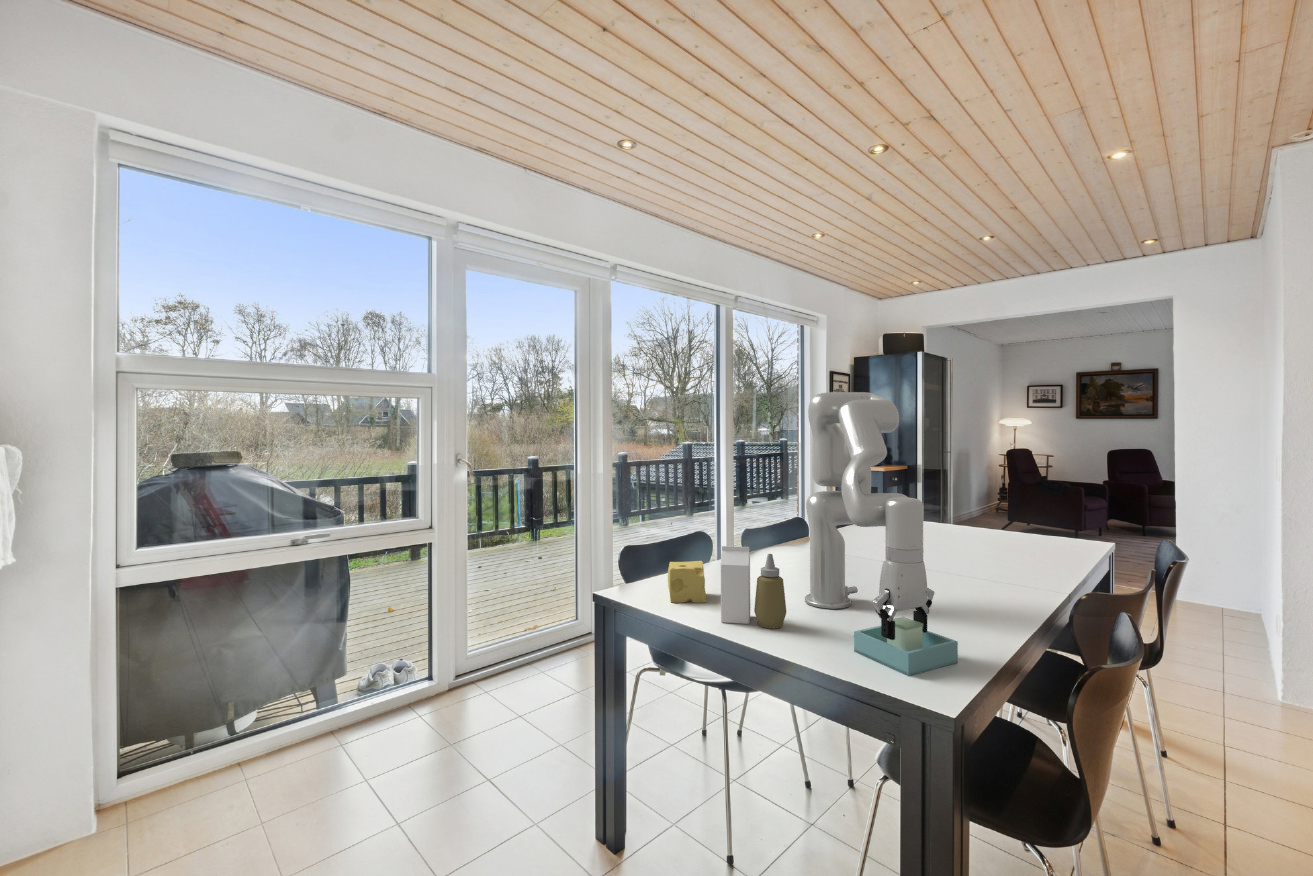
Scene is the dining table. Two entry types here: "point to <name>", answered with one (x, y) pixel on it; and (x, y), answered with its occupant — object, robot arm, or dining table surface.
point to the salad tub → (907, 634)
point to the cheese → (686, 582)
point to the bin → (929, 657)
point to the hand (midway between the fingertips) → (904, 634)
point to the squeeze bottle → (770, 596)
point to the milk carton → (735, 584)
